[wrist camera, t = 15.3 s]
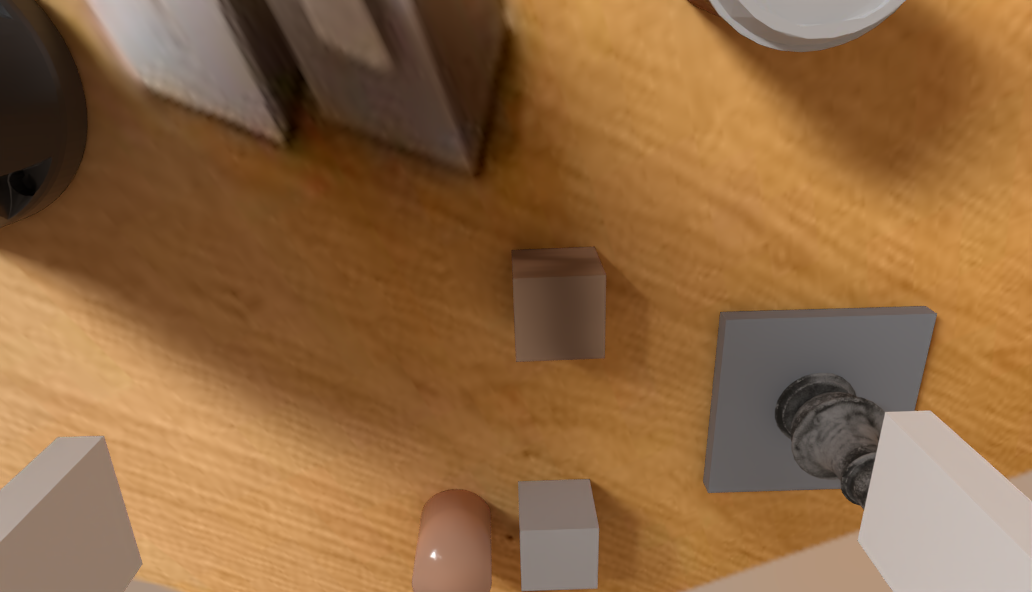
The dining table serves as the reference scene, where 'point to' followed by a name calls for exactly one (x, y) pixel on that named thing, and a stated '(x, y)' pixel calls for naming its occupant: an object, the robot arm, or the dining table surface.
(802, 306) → the dining table surface
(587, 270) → the walnut block
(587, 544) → the grey block
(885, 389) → the slate board
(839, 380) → the salt shaker
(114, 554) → the robot arm
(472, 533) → the peach rounded capsule
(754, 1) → the disposable coffee cup
